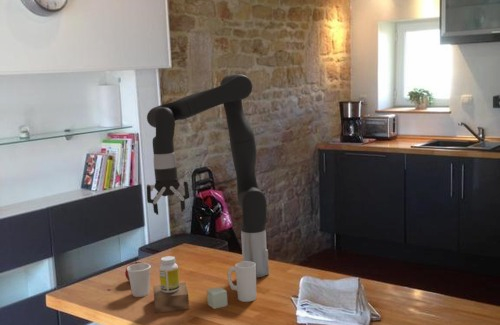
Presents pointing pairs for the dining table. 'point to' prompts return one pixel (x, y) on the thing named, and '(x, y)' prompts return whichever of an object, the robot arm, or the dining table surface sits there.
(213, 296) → the sage block
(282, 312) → the dining table surface
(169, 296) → the walnut block
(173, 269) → the pill bottle
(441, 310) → the dining table surface
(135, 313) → the dining table surface
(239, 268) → the mug
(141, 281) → the dixie cup
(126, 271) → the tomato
